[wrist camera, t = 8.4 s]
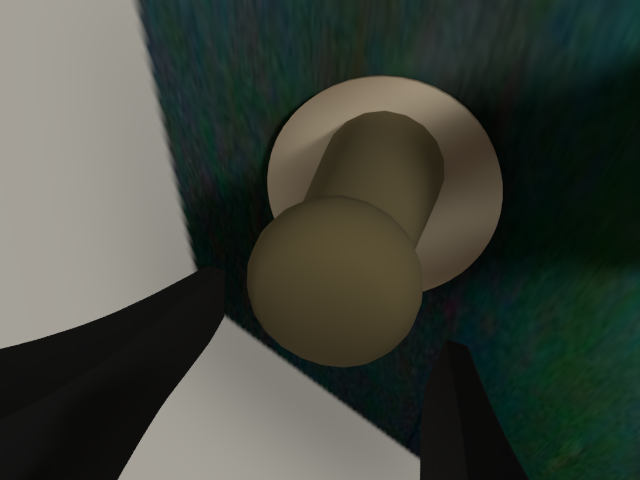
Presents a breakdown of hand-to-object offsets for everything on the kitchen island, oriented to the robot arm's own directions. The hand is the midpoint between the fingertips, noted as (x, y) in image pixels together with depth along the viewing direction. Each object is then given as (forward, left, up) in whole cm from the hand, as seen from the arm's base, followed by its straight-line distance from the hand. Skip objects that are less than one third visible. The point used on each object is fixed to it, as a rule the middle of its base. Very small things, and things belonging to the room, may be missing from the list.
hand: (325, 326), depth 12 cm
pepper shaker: (+1, -1, -10) cm, 10 cm away
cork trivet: (0, 0, -10) cm, 10 cm away
